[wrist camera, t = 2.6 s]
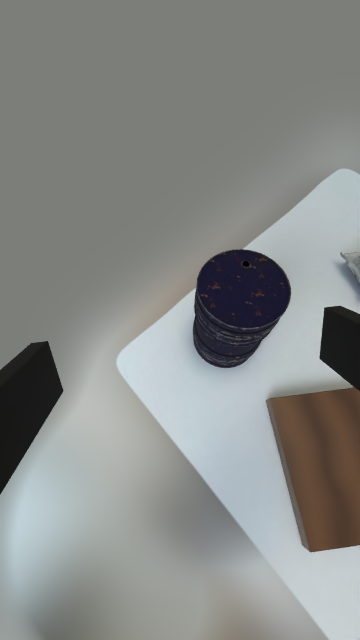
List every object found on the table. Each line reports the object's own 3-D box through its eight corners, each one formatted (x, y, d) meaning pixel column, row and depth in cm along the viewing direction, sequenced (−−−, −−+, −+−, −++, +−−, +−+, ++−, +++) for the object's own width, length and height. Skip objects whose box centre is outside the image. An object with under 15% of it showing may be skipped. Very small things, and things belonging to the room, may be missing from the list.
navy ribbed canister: (252, 375, 37) (290, 339, 23) (187, 362, 38) (187, 320, 25) (258, 315, 41) (293, 255, 28) (198, 305, 42) (204, 242, 29)
